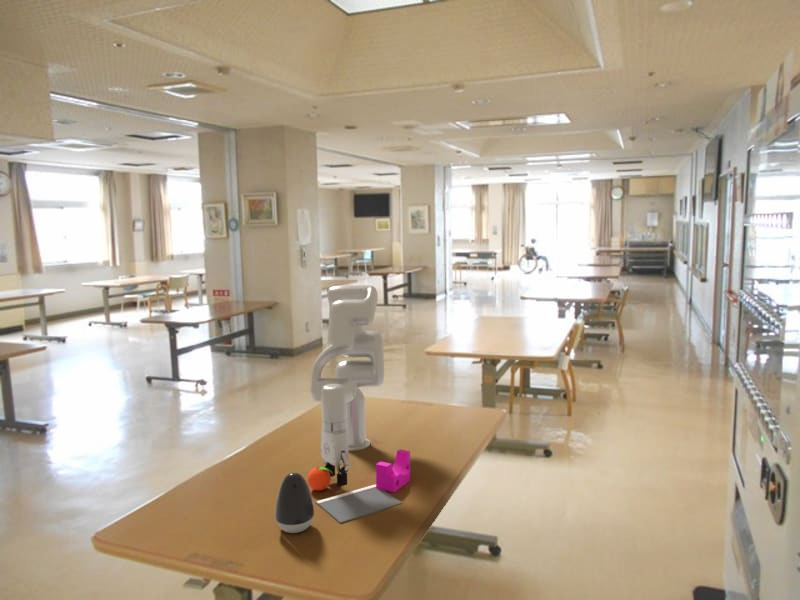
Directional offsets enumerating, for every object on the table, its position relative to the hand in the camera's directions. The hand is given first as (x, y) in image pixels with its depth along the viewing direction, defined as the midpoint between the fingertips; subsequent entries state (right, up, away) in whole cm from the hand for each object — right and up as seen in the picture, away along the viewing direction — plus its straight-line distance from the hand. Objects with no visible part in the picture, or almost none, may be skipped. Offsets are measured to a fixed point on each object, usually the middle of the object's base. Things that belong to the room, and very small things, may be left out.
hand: (336, 480), depth 183 cm
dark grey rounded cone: (-8, -5, -25) cm, 27 cm away
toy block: (+19, -1, +3) cm, 19 cm away
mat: (+8, -3, -11) cm, 14 cm away
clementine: (-4, -2, -2) cm, 5 cm away
